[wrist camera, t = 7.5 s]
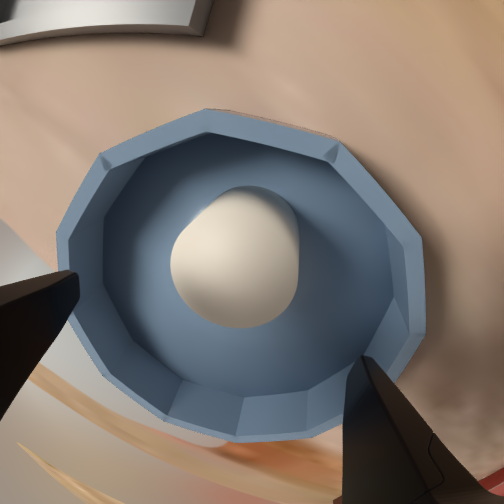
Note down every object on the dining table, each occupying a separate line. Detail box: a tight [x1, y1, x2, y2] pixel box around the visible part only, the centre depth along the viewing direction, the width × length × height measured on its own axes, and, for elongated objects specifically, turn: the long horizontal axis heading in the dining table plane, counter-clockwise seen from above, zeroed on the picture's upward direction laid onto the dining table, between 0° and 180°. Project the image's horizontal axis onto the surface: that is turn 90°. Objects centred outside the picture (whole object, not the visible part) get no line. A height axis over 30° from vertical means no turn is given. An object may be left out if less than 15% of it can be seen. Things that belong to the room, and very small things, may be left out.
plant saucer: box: [478, 468, 504, 496], centre depth 25 cm, size 18×18×3 cm
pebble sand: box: [170, 185, 300, 328], centre depth 14 cm, size 5×5×4 cm
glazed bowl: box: [56, 109, 426, 443], centre depth 16 cm, size 18×18×4 cm
